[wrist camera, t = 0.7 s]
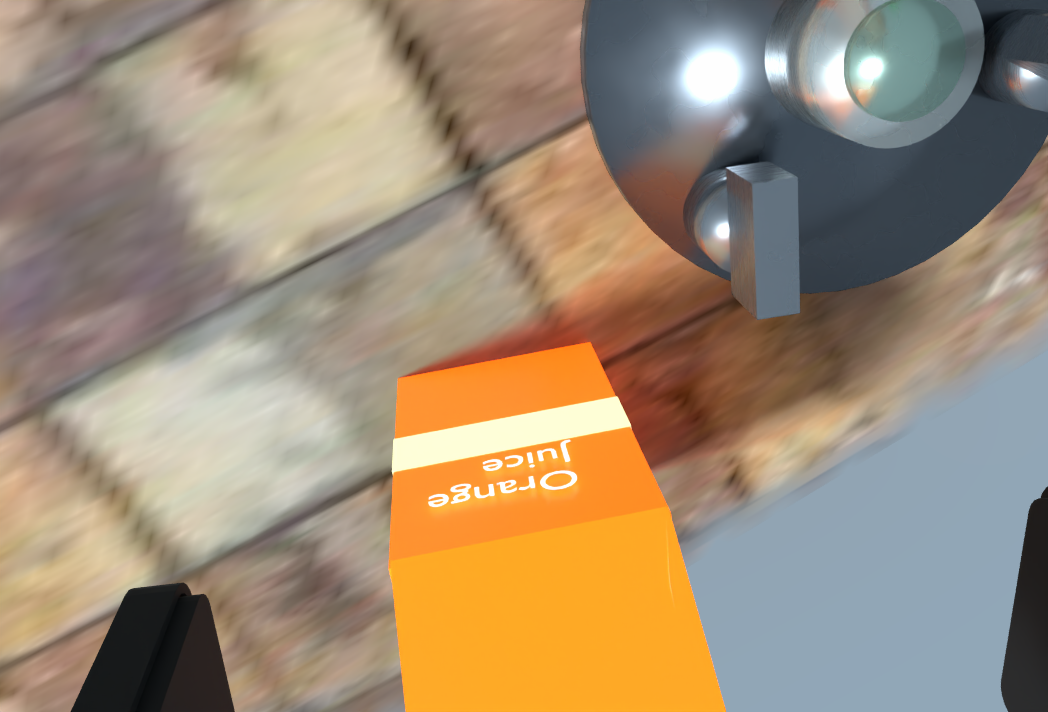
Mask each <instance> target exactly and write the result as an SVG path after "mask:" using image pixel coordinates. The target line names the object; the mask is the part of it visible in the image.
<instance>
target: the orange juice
mask: <svg viewBox="0 0 1048 712" xmlns="http://www.w3.org/2000/svg"><path fill="white" fill-rule="evenodd" d="M392 473H393V490H392V510H391V531H390V551H389V572H390V576H391V580H392V585H393V595H394V604H395V614H396V623H397V633H398V642H399V652H400V661H401V671H402V680H403V689H404V699H405V708H406V712H726V709H725V706H724V702H723V699H722V695H721V692H720V688H719V685H718V682H717V678H716V674H715V671H714V667H713V664H712V660H711V656H710V653H709V649H708V646H707V642H706V639H705V635H704V632H703V628H702V625H701V621H700V618H699V614H698V611H697V607H696V604H695V600H694V596H693V593H692V590H691V586H690V583H689V579H688V575H687V572H686V568H685V565H684V561H683V558H682V554H681V551H680V547H679V544H678V540H677V536H676V533H675V529H674V526H673V522H672V519H671V512H670V510H669V508H668V506H667V504H666V502H665V500H664V497H663V495H662V493H661V491H660V489H659V487H658V485H657V483H656V480H655V478H654V476H653V474H652V472H651V470H650V468H649V466H648V463H647V461H646V459H645V457H644V455H643V453H642V451H641V449H640V447H639V444H638V442H637V440H636V438H635V436H634V434H633V432H632V429H631V424H630V422H629V420H628V418H627V416H626V414H625V411H624V409H623V407H622V405H621V403H620V401H619V399H618V397H617V396H615V393H614V391H613V389H612V387H611V385H610V383H609V381H608V379H607V376H606V374H605V372H604V370H603V368H602V366H601V364H600V362H599V359H598V357H597V355H596V353H595V351H594V349H593V347H592V345H591V343H590V342H588V343H582V344H577V345H572V346H566V347H561V348H556V349H551V350H545V351H540V352H535V353H529V354H524V355H519V356H514V357H508V358H503V359H498V360H493V361H487V362H482V363H477V364H471V365H466V366H461V367H456V368H450V369H445V370H440V371H434V372H429V373H424V374H419V375H413V376H408V377H403V378H398V388H397V408H396V429H395V439H394V442H393V462H392Z"/></svg>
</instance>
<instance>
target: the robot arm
mask: <svg viewBox="0 0 1048 712" xmlns="http://www.w3.org/2000/svg"><path fill="white" fill-rule="evenodd" d="M1001 691H1002V697H1003V700H1004V703H1005V706H1006V708H1007V710H1008V712H1048V487H1046V489H1045V490H1044V491H1043V493H1042V495H1041V498H1039V499H1037V500H1034V502H1033V503H1032V504H1031V506H1030V509H1029V513H1028V519H1027V526H1026V532H1025V538H1024V544H1023V550H1022V556H1021V562H1020V568H1019V574H1018V581H1017V587H1016V593H1015V599H1014V605H1013V611H1012V617H1011V624H1010V630H1009V636H1008V642H1007V648H1006V654H1005V660H1004V666H1003V673H1002V679H1001ZM71 712H235V711H234V706H233V702H232V698H231V693H230V689H229V685H228V680H227V676H226V672H225V667H224V663H223V659H222V654H221V650H220V645H219V641H218V637H217V632H216V628H215V624H214V619H213V615H212V611H211V606H210V603H209V600H208V598H207V596H206V595H204V594H199V595H192V594H191V591H190V589H189V587H188V586H187V585H186V584H185V583H176V584H167V585H158V586H149V587H141V588H133V589H130V590H128V592H127V593H126V595H125V596H124V599H123V601H122V603H121V605H120V607H119V609H118V611H117V614H116V616H115V618H114V620H113V622H112V624H111V626H110V629H109V631H108V633H107V635H106V637H105V639H104V641H103V644H102V646H101V648H100V650H99V652H98V654H97V656H96V659H95V661H94V663H93V665H92V667H91V669H90V671H89V674H88V676H87V678H86V680H85V682H84V684H83V686H82V689H81V691H80V693H79V695H78V697H77V699H76V701H75V704H74V706H73V708H72V710H71Z"/></svg>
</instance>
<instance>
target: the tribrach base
mask: <svg viewBox="0 0 1048 712" xmlns="http://www.w3.org/2000/svg"><path fill="white" fill-rule="evenodd" d="M580 58H581V83H582V89H583V95H584V101H585V107H586V113H587V117H588V120H589V124H590V127H591V130H592V134H593V137H594V140H595V143H596V146H597V149H598V151H599V153H600V155H601V157H602V160H603V162H604V164H605V166H606V168H607V171H608V173H609V175H610V176H611V178H612V179H613V181H614V183H615V184H616V186H617V187H618V189H619V191H620V192H621V194H622V195H623V197H624V198H625V200H626V201H627V202H628V203H629V205H630V206H631V207H632V208H633V209H634V211H635V212H636V213H637V214H638V215H639V216H640V218H641V219H642V220H643V221H644V222H645V223H646V225H647V226H648V227H649V228H650V229H651V230H652V231H653V232H654V233H655V234H656V235H658V236H659V237H660V238H661V239H662V240H663V241H664V242H665V243H667V244H668V245H669V246H670V247H671V248H672V249H673V250H674V251H676V252H677V253H679V254H680V255H682V256H683V257H685V258H686V259H688V260H689V261H691V262H692V263H694V264H695V265H697V266H698V267H701V268H703V269H705V270H707V271H709V272H711V273H713V274H715V275H717V276H719V277H722V278H724V279H726V280H729V281H731V289H732V295H733V296H734V297H735V298H736V299H737V300H738V301H739V302H740V303H741V304H742V305H743V306H744V307H745V308H746V309H747V310H748V311H749V312H750V313H751V314H752V315H753V316H754V317H755V318H756V319H757V320H759V319H766V318H772V317H778V316H785V315H791V314H797V313H800V293H809V294H811V293H821V292H832V291H841V290H845V289H850V288H854V287H859V286H863V285H868V284H871V283H874V282H877V281H880V280H883V279H885V278H888V277H891V276H894V275H897V274H899V273H901V272H903V271H905V270H907V269H909V268H912V267H914V266H916V265H918V264H920V263H922V262H924V261H926V260H928V259H929V258H931V257H932V256H934V255H935V254H937V253H939V252H940V251H942V250H943V249H945V248H947V247H948V246H950V245H951V244H953V243H954V242H955V241H957V240H958V239H959V238H960V237H962V236H963V235H964V234H965V233H967V232H968V231H969V230H970V229H972V228H973V227H974V226H976V225H977V224H978V223H979V222H980V221H981V220H982V219H983V218H984V217H985V216H986V215H987V214H988V213H989V212H990V211H991V210H992V209H993V208H994V207H995V206H996V205H997V204H998V203H999V202H1000V201H1001V200H1002V199H1003V198H1004V197H1005V196H1006V195H1007V193H1008V192H1009V191H1010V190H1011V188H1012V187H1013V186H1014V185H1015V184H1016V182H1017V181H1018V180H1019V179H1020V177H1021V176H1022V175H1023V174H1024V172H1025V171H1026V169H1027V168H1028V166H1029V165H1030V163H1031V162H1032V160H1033V159H1034V157H1035V156H1036V154H1037V153H1038V151H1039V150H1040V148H1041V146H1042V145H1043V143H1044V141H1045V139H1046V137H1047V135H1048V0H586V1H585V6H584V11H583V20H582V31H581V43H580Z"/></svg>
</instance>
